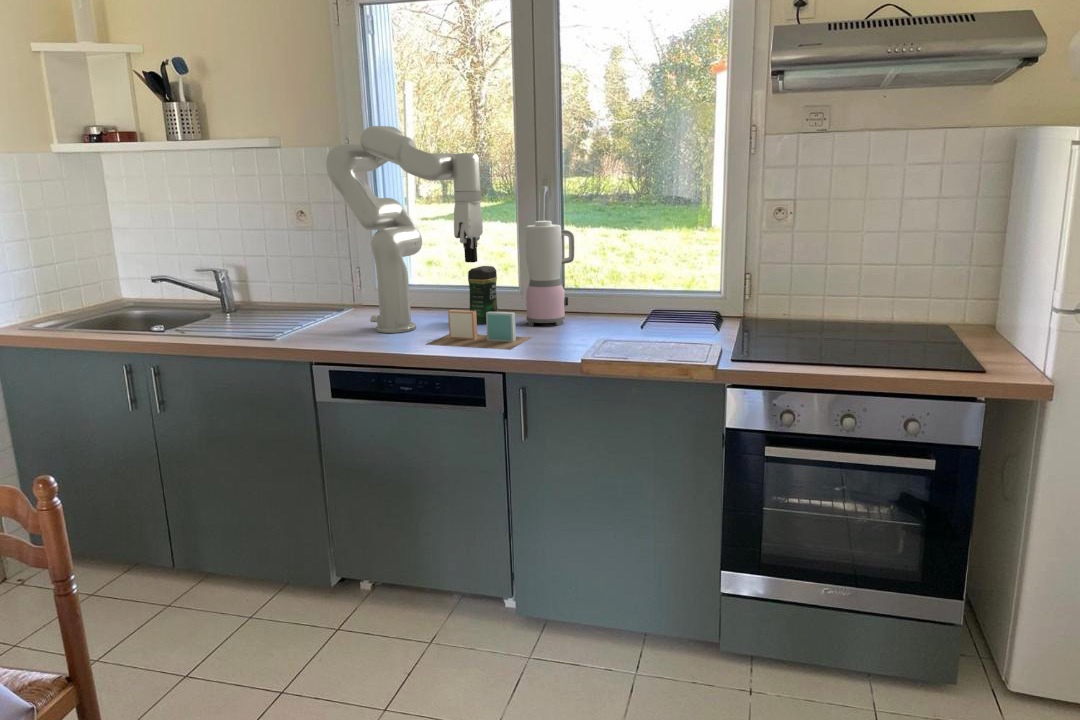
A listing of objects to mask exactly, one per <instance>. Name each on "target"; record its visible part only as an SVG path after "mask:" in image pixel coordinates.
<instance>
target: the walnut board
mask: <svg viewBox="0 0 1080 720" xmlns="http://www.w3.org/2000/svg"><path fill="white" fill-rule="evenodd" d="M477 337H478V338H477V339H475V340H471V339H454V338H450V337H449V333H448V334H446V335H443V336H441V337H439V338H437V339H434V340H432V341H430V342H428V343H426V344H425V346H426V345H428V346H440V347H441V346H443V347H458V348H459V347H460V348H476V349H477V348H478V349H490V350H491V349H493V350H513V349H514V348H516V347H518V346H519V345H522V344H523V343H525V342H527V341H528V340H530V339H532V338H533V336H517V335H516V341H514V342H506V341H489V340H487V334H481V333H479V334H478V333H477Z"/></svg>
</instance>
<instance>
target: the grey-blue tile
mask: <svg viewBox="0 0 1080 720" xmlns="http://www.w3.org/2000/svg"><path fill="white" fill-rule="evenodd" d="M486 323H487V325H486V335H487V340H489V341H506V342H514V341H516V336H517V333H516V313H515V312H512V311H511V312H510V311H509V312H508V311H507V312H506V311H498V312H490V311H489V312H487V313H486Z"/></svg>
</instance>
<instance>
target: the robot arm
mask: <svg viewBox="0 0 1080 720" xmlns="http://www.w3.org/2000/svg"><path fill="white" fill-rule="evenodd" d="M359 137H360V138H359V142H360V143H341V144H340V143H339V144H337V145H335V146H332V147H331V148H330V150H329V151H328V153H327V156H326V159H325V160H326V161H325V166H326V167H325V169H326V173H327V176H328V178H329V180H330V182H331V183H332V185H333V186H334V188H335V189H336V190H337V192H338V193H339V195H341V197H342V198H343V200H344V201H345V202H346V204H347V206H348V207H349V209H350V210H351V211H352V214H353V215H354V217H355V218H356V219H357V221H358V222H359V224H360V225H361V226H362V227H363V229H365V230H369V231H376V230H377V231H376V232H374V234H373V235H372V236H371V237H372V238H371V241H370V246H371V251H372V252H371V253H372V256H373V259H374V263H375V264H374V265H375V272H376V281H377V292H378V294H377V295H378V296H377V297H378V307H379V314H378V315H377V314H376V315H375V314H374V315H371V317H370V319H369V320H370V322H371V323H376V324H377V325H376V326H375V330H376V332H379V333H385V334H394V333H398V334H399V333H406V332H411V331H414V330H416V329H417V323H415V322H412V314H411V302H410V301H411V300H410V299H411V298H410V284H409V283H410V282H409V273H408V268H407V265H406V263H405V260H404V257H409V256H413V255H416V254H418V253H419V252H420V251H421V249H422V246H423V239H422V234H421V232H420V231H419V229H418V227H417V226H416V224H415V222H414V221H413V220H412V218H411V216H410V215H409V214H408V212H407V210H406V209H405V207H404V206H403V205H402V204H401V203H400V202H399V201H398V200H396V199H394V198H390V197H378V196H377V195H376V194H375V193H374V192H373V191H372V189H371V188H370V186H369V185H368V184H367V182H366V181H365V180H364V179H362V178H361V177H360V176H359V175H357V173H360V172H361V173H364V172H372V171H374V170H375V171H376V170H377V169H378V168H380V167H382V166H383V165H385V164H386V163H388V162H389V163H392V164H395V165H397V166H399V167H400V168H401V169H402V170H403V171H404V172H406V173H407V174H410V175H412V176H415V177H418V178H419V179H423V180H425V181H431V182H434V181H435V182H436V181H451V180H453V191H454V192H453V196H454V210H453V211H454V212H453V235H454V238H455V239H459V243H461V244H463V246H462V247H463V250H464V262H465V263H477V262H478V250H477V249H478V241H479V240H480V237H481V236H482V235H483V234H484V233H483V232H484V231H483V229H484V226H483V214H482V207H481V203H482V193H481V192H482V191H481V174H480V173H481V172H480V157H479V155H478V154H477V153H474V152H462V153H461V152H459V153H458V152H457V153H451V152H448V153H445V152H441V153H439V152H436V153H435V152H434V153H431V152H426V151H425V150H421V149H418V148H416V143H415V141H414V140H413V139H412V138H410V137H408V136H406V135H404V134H403V132H402V131H401V130H400V129H398V128H396V127H395V126H388V125H387V126H386V125H385V126H383V125H371V126H368V127H367V128H365V129H364V130H363V131H361V134H360V136H359Z"/></svg>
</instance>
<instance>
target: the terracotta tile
mask: <svg viewBox="0 0 1080 720" xmlns="http://www.w3.org/2000/svg"><path fill="white" fill-rule="evenodd" d="M447 317H448V329H449V330H448V334H449V337H450V338H454V339H471V340H475V339H477V338H478V337H477V334H478V324H477V316H476V311H470V310H462V309H451V310H448V311H447Z"/></svg>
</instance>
